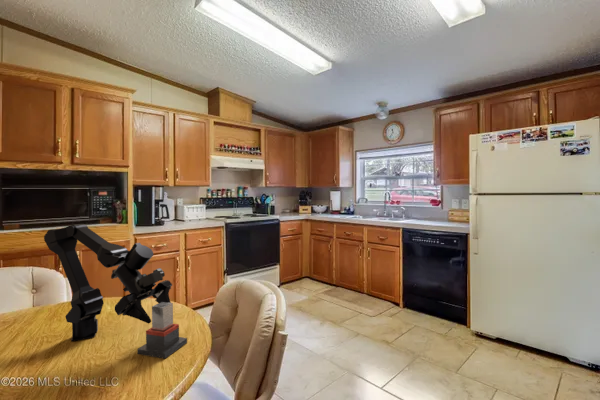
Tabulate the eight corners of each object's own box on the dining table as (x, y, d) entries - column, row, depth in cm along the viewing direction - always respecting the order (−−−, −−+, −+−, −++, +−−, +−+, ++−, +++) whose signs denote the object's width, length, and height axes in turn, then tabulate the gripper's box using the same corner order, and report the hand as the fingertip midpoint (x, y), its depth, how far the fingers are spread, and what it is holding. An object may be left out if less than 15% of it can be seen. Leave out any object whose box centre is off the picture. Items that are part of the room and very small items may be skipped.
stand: (137, 353, 90) (137, 332, 90) (161, 338, 100) (161, 319, 100) (164, 358, 87) (164, 336, 87) (187, 342, 97) (186, 322, 97)
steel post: (152, 345, 92) (151, 306, 92) (162, 338, 96) (161, 301, 96) (163, 347, 91) (163, 308, 91) (173, 340, 95) (173, 303, 95)
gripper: (121, 269, 86) (153, 311, 83) (167, 256, 104) (195, 290, 101) (100, 294, 88) (131, 336, 85) (149, 277, 106) (175, 311, 103)
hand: (161, 316), depth 94 cm, fingers open, 9 cm apart
